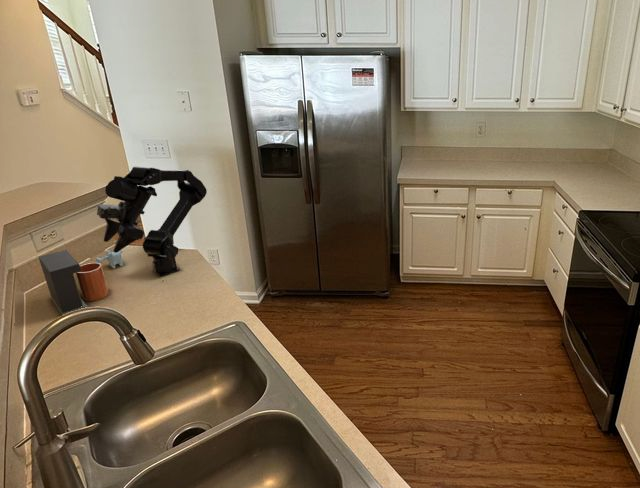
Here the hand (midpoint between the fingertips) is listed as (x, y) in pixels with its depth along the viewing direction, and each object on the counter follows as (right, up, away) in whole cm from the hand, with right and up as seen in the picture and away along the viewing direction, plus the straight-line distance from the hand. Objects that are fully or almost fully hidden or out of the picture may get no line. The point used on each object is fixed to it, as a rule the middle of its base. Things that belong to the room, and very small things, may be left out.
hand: (110, 246), depth 137 cm
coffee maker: (-10, -18, -4) cm, 20 cm away
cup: (-5, -16, +1) cm, 16 cm away
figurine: (-12, -9, +19) cm, 24 cm away
